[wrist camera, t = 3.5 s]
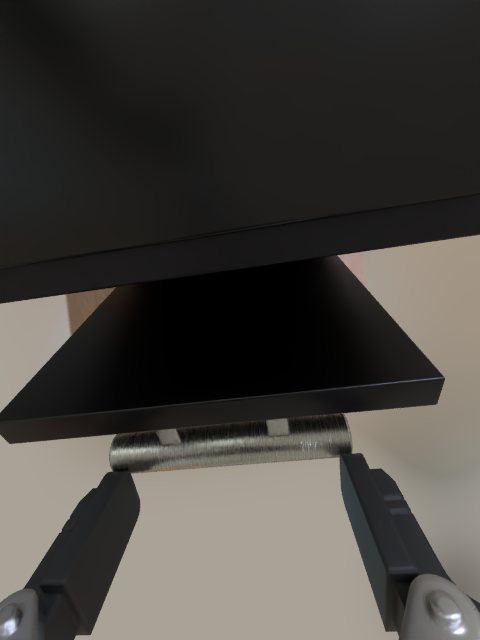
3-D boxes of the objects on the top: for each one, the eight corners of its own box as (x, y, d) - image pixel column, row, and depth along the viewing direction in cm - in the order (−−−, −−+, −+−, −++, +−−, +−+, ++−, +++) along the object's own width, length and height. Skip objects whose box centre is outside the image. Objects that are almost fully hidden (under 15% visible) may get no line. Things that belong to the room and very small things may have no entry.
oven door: (318, 295, 21) (413, 481, 9) (161, 316, 22) (67, 505, 10) (317, 233, 19) (446, 378, 7) (141, 259, 20) (-12, 424, 8)
